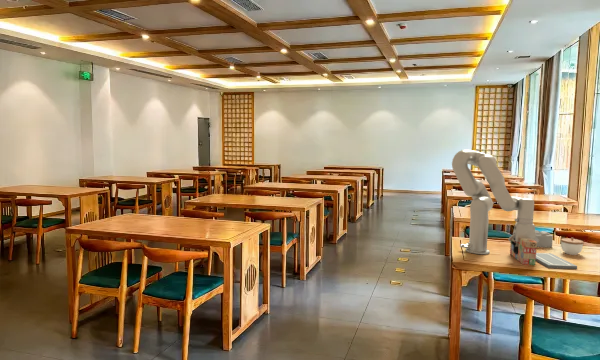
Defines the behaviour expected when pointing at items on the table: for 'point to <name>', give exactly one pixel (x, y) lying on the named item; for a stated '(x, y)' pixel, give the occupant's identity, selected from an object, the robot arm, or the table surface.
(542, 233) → the grey bumpy block
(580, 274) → the table surface
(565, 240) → the lidded jar
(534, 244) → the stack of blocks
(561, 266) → the foundation board
